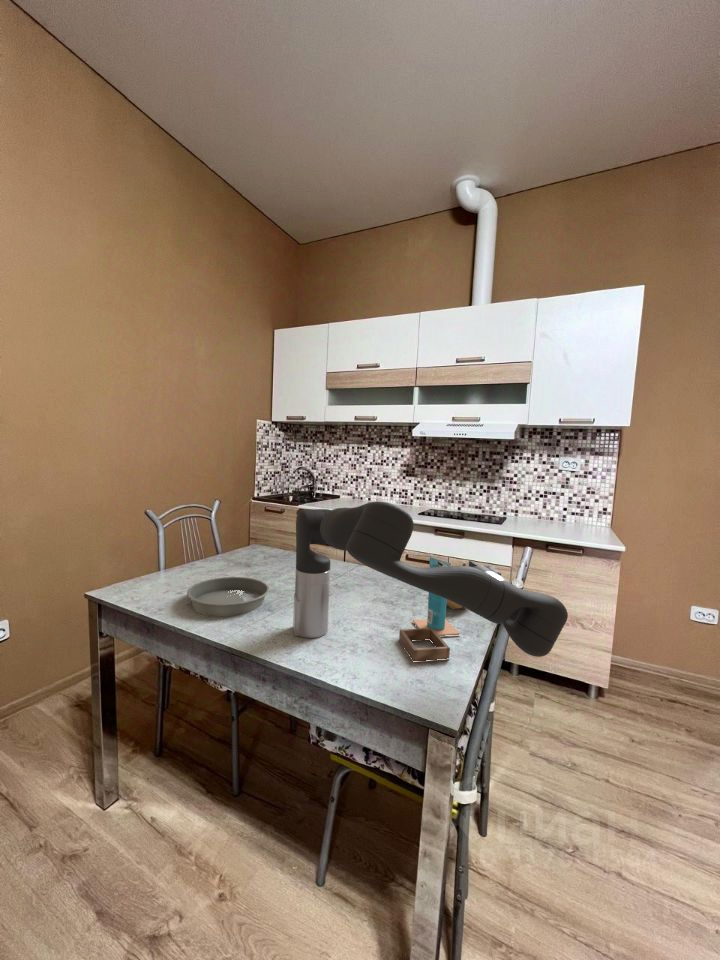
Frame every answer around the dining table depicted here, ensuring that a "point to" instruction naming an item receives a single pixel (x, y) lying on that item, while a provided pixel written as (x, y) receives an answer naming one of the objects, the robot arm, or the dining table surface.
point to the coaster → (446, 631)
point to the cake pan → (215, 591)
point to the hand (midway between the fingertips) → (454, 564)
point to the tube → (436, 605)
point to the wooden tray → (424, 653)
